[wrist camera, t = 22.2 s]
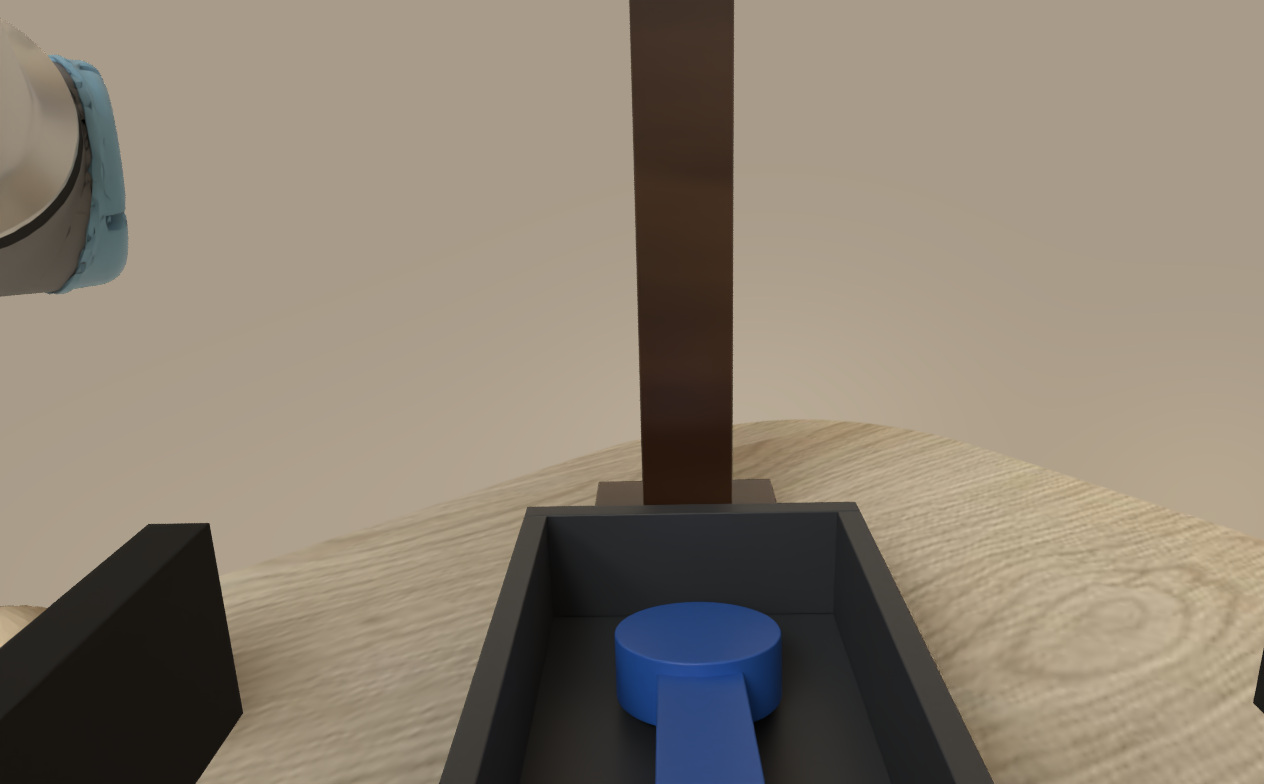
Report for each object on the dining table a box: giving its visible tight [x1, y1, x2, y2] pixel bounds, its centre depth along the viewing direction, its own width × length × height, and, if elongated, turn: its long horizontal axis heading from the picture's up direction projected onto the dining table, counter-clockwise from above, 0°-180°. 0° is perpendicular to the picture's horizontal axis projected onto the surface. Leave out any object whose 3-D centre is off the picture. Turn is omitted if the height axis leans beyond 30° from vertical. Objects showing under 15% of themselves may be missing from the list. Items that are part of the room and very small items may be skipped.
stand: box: [595, 0, 777, 506], centre depth 36 cm, size 8×8×31 cm
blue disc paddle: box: [615, 602, 782, 784], centre depth 23 cm, size 16×5×2 cm, turn 178°
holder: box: [439, 502, 994, 784], centre depth 24 cm, size 21×12×5 cm, turn 179°
